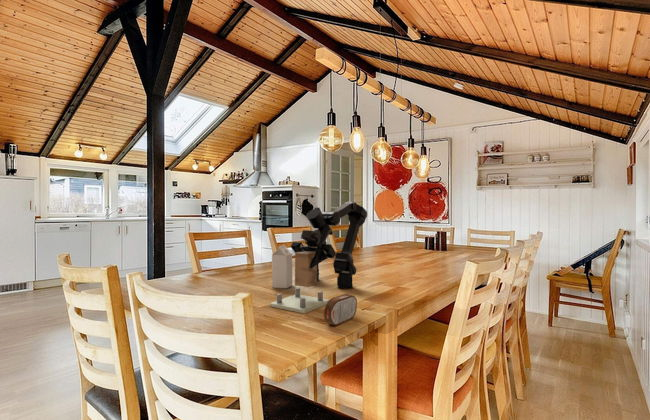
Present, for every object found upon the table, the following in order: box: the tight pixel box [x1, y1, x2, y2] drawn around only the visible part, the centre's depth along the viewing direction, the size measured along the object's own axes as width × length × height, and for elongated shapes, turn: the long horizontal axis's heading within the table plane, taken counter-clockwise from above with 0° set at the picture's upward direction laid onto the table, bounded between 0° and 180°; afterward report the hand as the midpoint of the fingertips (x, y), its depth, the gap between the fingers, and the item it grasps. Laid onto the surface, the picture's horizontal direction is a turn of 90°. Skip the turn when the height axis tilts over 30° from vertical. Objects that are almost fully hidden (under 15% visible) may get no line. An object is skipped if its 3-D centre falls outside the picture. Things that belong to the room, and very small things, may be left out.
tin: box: [323, 293, 358, 326], centre depth 116 cm, size 15×3×8 cm, turn 141°
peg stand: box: [269, 287, 330, 314], centre depth 136 cm, size 16×16×4 cm
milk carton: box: [271, 244, 293, 289], centre depth 165 cm, size 7×7×19 cm
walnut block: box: [294, 251, 318, 288], centre depth 139 cm, size 6×6×12 cm
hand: (303, 266), depth 138 cm, fingers closed on walnut block, 6 cm apart
